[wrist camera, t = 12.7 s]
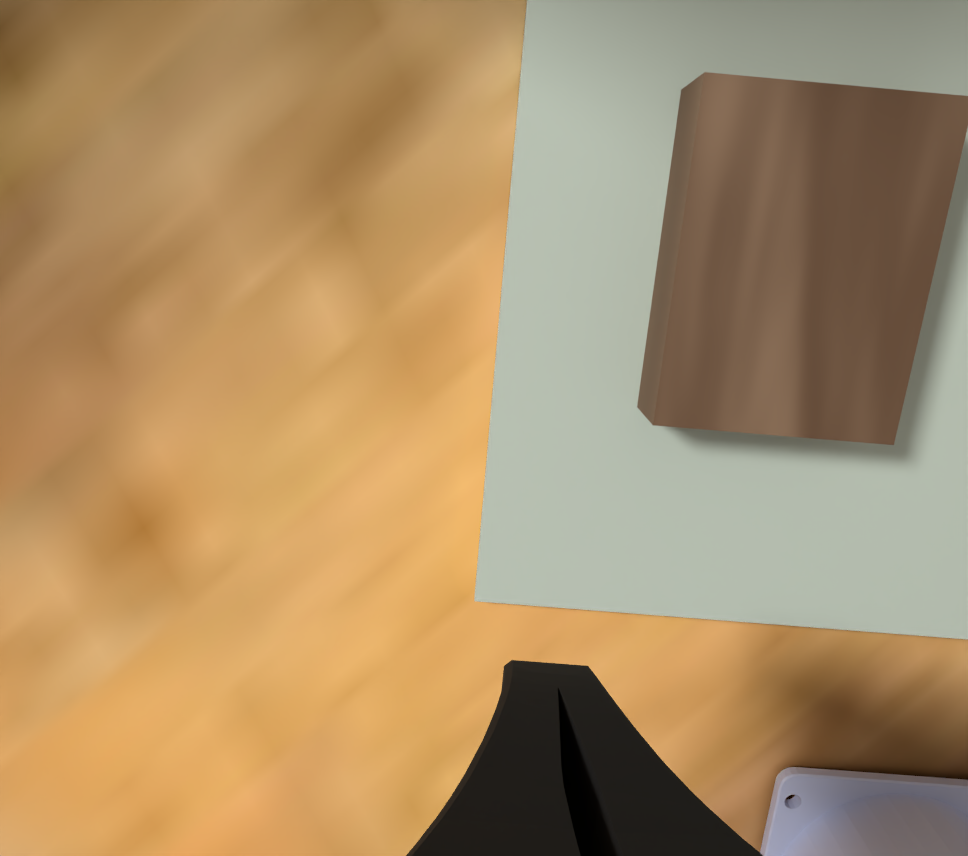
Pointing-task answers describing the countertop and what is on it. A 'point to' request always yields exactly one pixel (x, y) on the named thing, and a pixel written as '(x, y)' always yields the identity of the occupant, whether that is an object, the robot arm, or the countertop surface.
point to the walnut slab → (797, 255)
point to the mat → (623, 332)
